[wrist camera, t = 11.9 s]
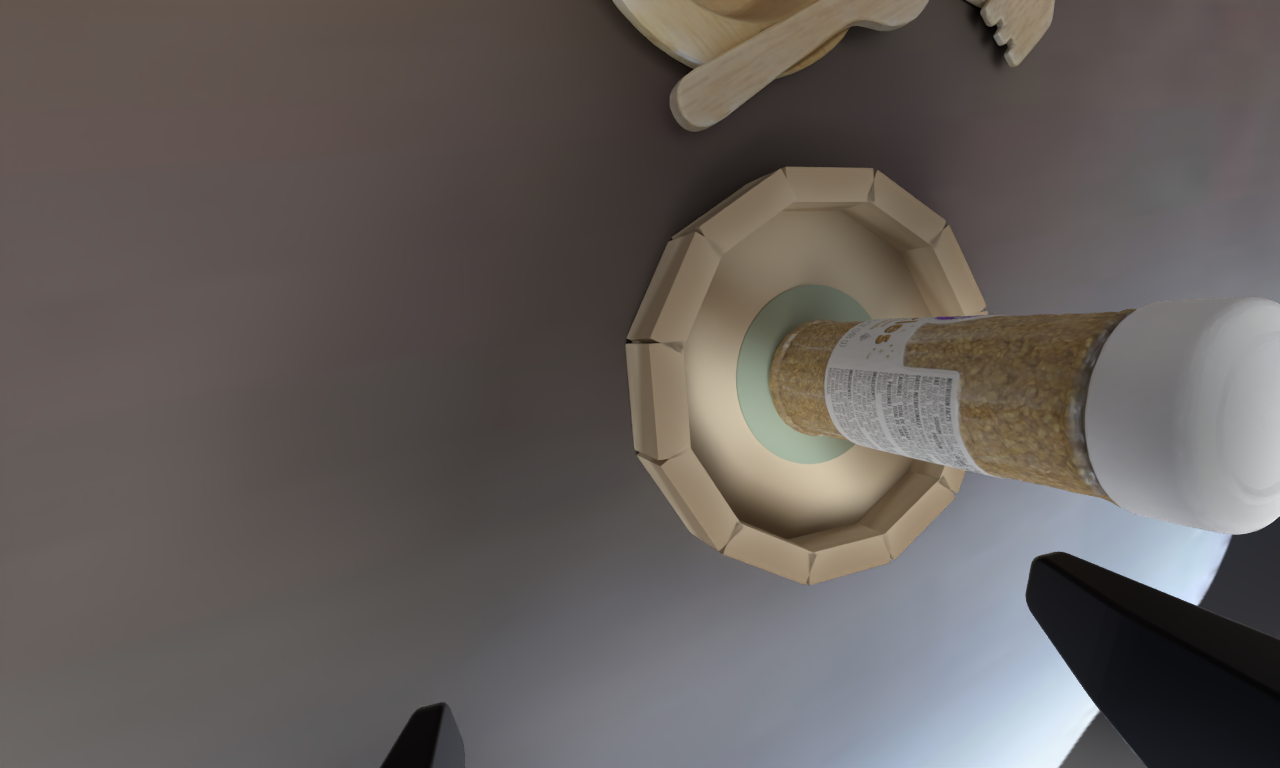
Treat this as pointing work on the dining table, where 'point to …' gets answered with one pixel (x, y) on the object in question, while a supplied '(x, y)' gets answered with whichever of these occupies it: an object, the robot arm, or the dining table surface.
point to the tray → (741, 360)
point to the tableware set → (787, 40)
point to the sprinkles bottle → (1063, 401)
